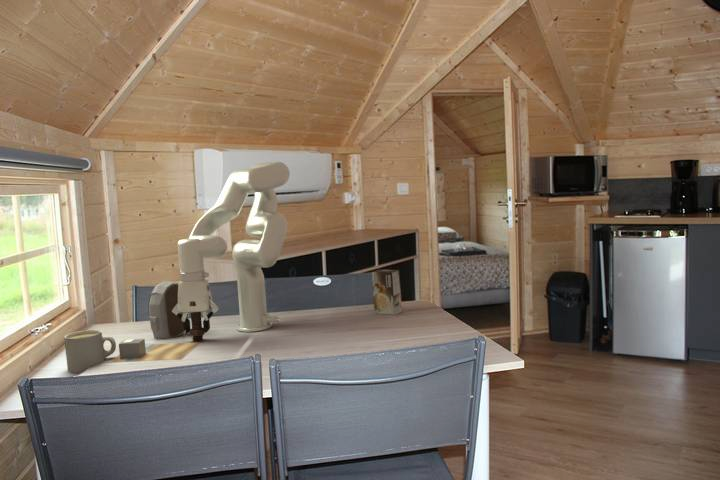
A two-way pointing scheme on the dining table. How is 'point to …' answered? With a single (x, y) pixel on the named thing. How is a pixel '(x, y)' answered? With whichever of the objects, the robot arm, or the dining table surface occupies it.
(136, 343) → the grey block
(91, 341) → the coffee mug
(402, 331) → the dining table surface
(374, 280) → the coffee box
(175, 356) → the yellow striped flat sheet
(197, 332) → the bolt
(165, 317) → the small grey backpack
